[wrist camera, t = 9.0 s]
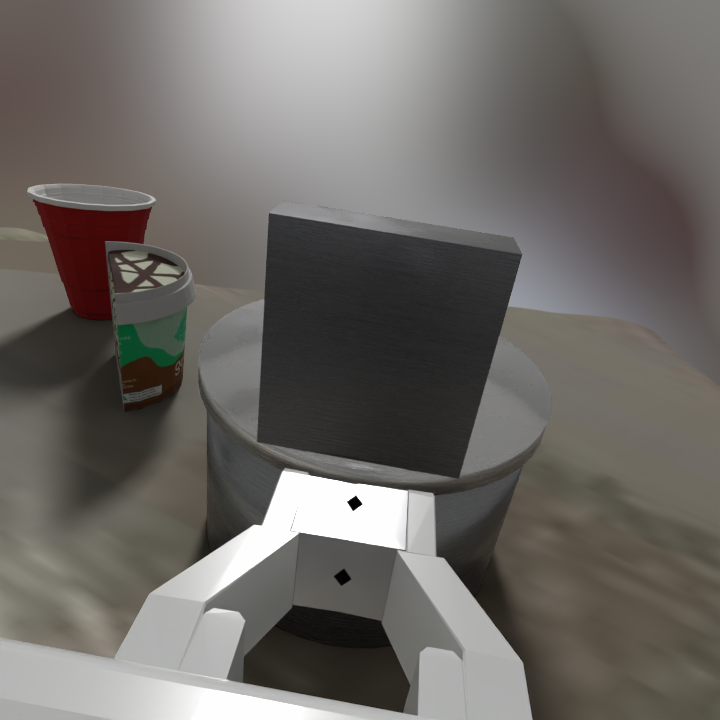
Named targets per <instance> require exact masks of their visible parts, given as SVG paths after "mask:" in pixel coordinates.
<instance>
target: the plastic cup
mask: <svg viewBox="0 0 720 720" xmlns="http://www.w3.org/2000/svg"><path fill="white" fill-rule="evenodd" d="M27 192H28V195H29V197H30V198H33V202H35V206H37V210H38V213H39V215H40V216H41V220H42V223H43V227H45V230H46V233H47V236H48V239H49V243H50V246H51V249H52V252H53V255H54V258H55V262H56V265H57V268H58V271H59V274H60V277H61V281H62V282H63V283H64V286H65V289H66V293H67V296H68V299H69V302H70V305H71V307H72V308H73V311H74V313H76V314H77V315H78V316H81V317H84V318H87V319H96V320H105V319H112V310H111V299H110V288H109V277H108V266H107V257H106V245H105V241H111V242H129V243H138V244H143V243H144V234H145V230H146V227H147V220H148V219H149V214H150V211H151V209H152V206H154V205H155V203H156V200H155V199H154V197H152V196H150V195H147V194H144V193H140V192H136V191H131V190H127V189H120V188H113V187H105V186H94V185H81V184H48V185H38V186H33V187H29V188H28V191H27Z"/></svg>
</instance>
